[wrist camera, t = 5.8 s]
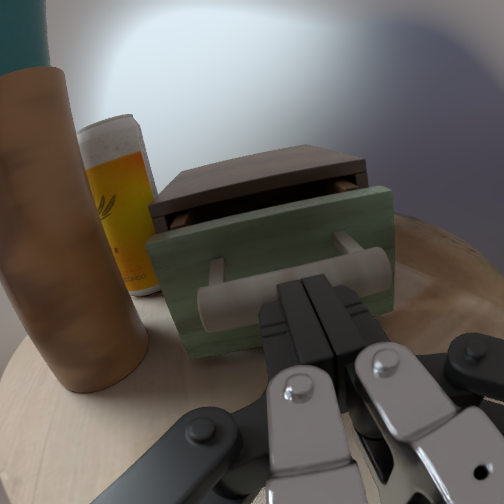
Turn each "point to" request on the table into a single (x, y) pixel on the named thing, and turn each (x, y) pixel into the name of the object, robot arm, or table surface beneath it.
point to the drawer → (271, 257)
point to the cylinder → (23, 35)
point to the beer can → (122, 195)
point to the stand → (59, 241)
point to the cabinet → (252, 178)
